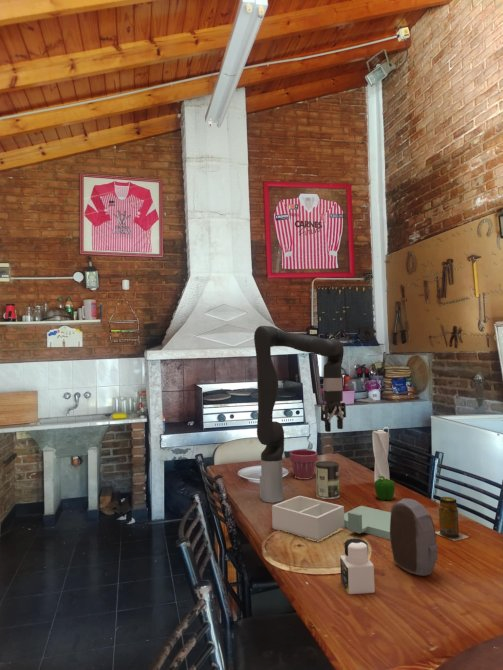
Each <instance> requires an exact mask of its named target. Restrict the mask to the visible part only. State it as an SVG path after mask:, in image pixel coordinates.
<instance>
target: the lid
mask: <svg viewBox="0 0 503 670" xmlns="http://www.w3.org/2000/svg"><path fill="white" fill-rule="evenodd" d="M390 518H391V511H386V510H383V509H382V510H381V509H376V508H373V507H369V506H365V505H359V506H358V507H355V508H353V509H351V510H349V511H346V512H344V527H345V528H347V529H348V531H349V532H354V533H357V534H362V533H365V534H368V535H372V536H376V537H379V538H382V539H386V540H390ZM390 541H391V540H390Z"/></svg>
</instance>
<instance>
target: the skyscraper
mask: <svg viewBox="0 0 503 670" xmlns="http://www.w3.org/2000/svg"><path fill="white" fill-rule="evenodd" d="M385 429H387V432H386V431H384V430H385ZM389 431H390V428H389V427H388V426H384V427H383V429H378V430H372V449H373V455H374V482H375V481H377V480H378V479H382V480H383V478H379V477H378V476H383V477H385V479H388V480H391V479H390V467H389V461H388V456H389V448H390V444H389V443H390V441H389V440H390V438H389V437H390V433H389Z"/></svg>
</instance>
